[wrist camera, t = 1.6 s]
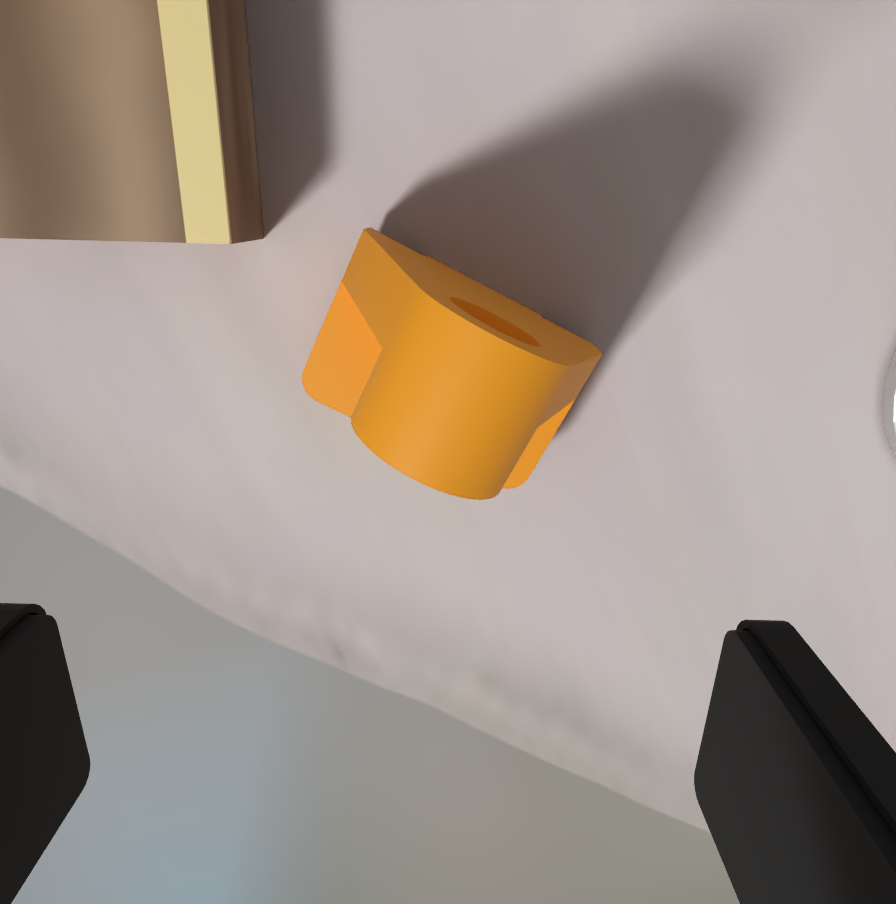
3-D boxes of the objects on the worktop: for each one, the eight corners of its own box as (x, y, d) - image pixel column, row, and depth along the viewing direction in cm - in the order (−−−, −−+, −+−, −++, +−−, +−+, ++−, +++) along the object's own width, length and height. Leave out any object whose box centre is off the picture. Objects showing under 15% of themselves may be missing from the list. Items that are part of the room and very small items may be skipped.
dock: (229, -187, 22) (179, -272, 18) (263, 238, 27) (229, 244, 23) (-170, -194, 22) (-305, -280, 18) (-61, 230, 27) (-149, 234, 23)
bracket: (309, 375, 29) (215, 479, 18) (372, 226, 27) (309, 241, 16) (513, 472, 31) (542, 623, 20) (590, 340, 28) (673, 427, 17)
